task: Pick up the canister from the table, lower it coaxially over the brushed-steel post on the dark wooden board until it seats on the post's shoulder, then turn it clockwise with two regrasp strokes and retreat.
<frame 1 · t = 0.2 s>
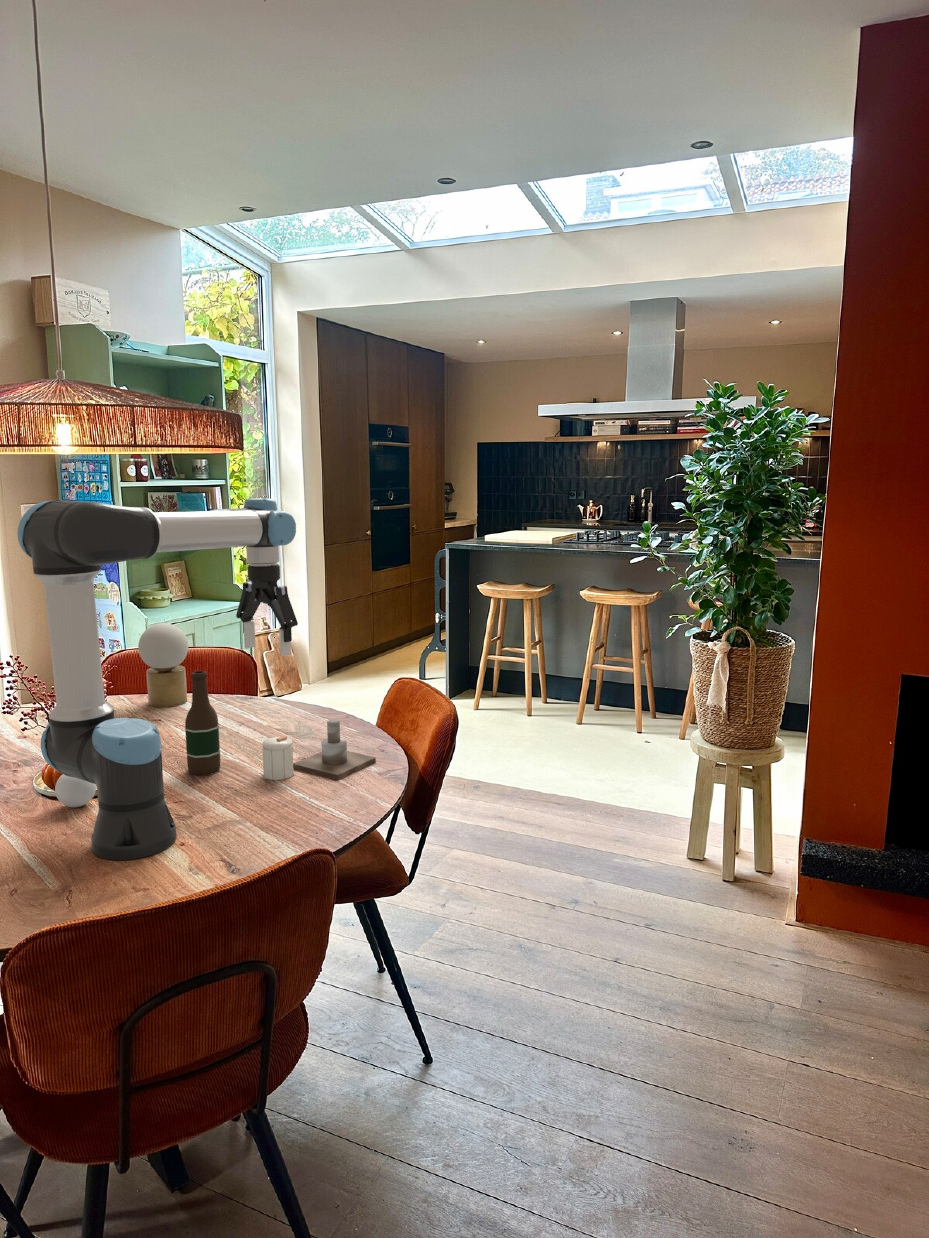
hand: (267, 651, 204), 27 cm above the table, fingers open, 13 cm apart
beer bottle: (204, 771, 200), on the table
post block: (334, 765, 203), on the table
canister: (278, 774, 197), on the table
lamp: (167, 704, 256), on the table
ball: (77, 806, 179), on the table
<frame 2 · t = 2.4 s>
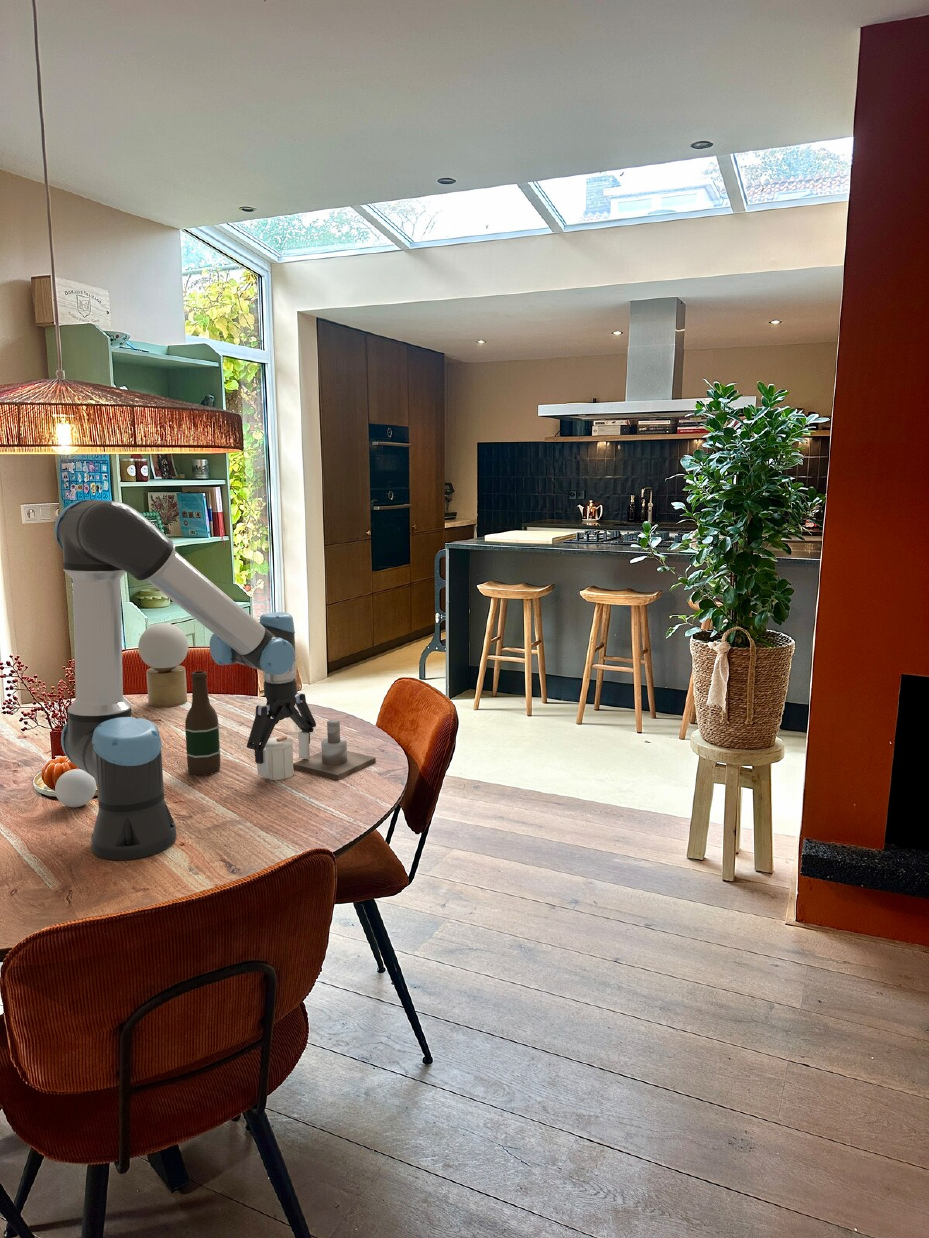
hand: (284, 766, 198), 1 cm above the table, fingers open, 13 cm apart
nothing on the table moved.
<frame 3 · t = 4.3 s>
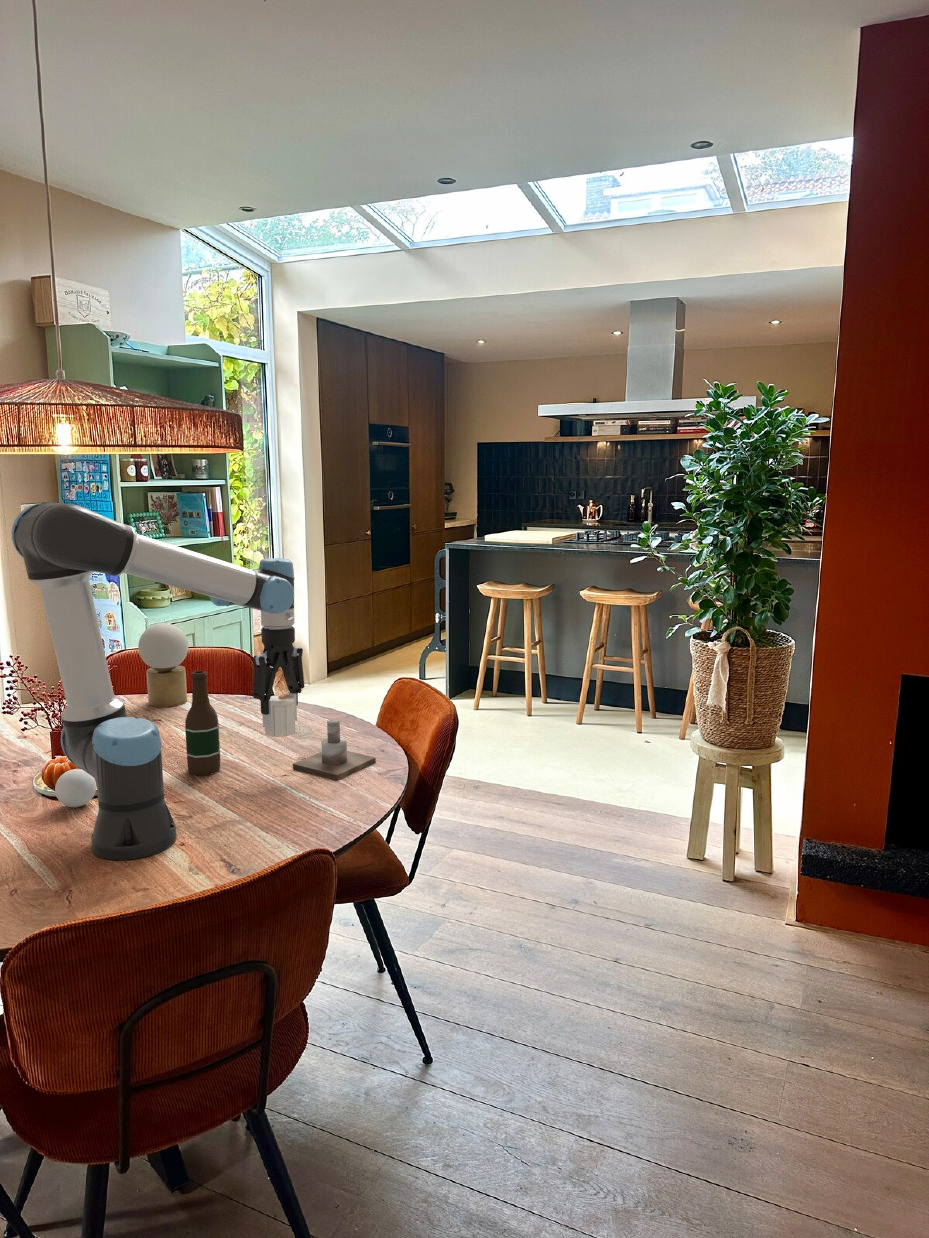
hand: (280, 723, 196), 12 cm above the table, fingers closed on canister, 7 cm apart
canister: (280, 732, 196), point 10 cm above the table, touching gripper
everything else where it was.
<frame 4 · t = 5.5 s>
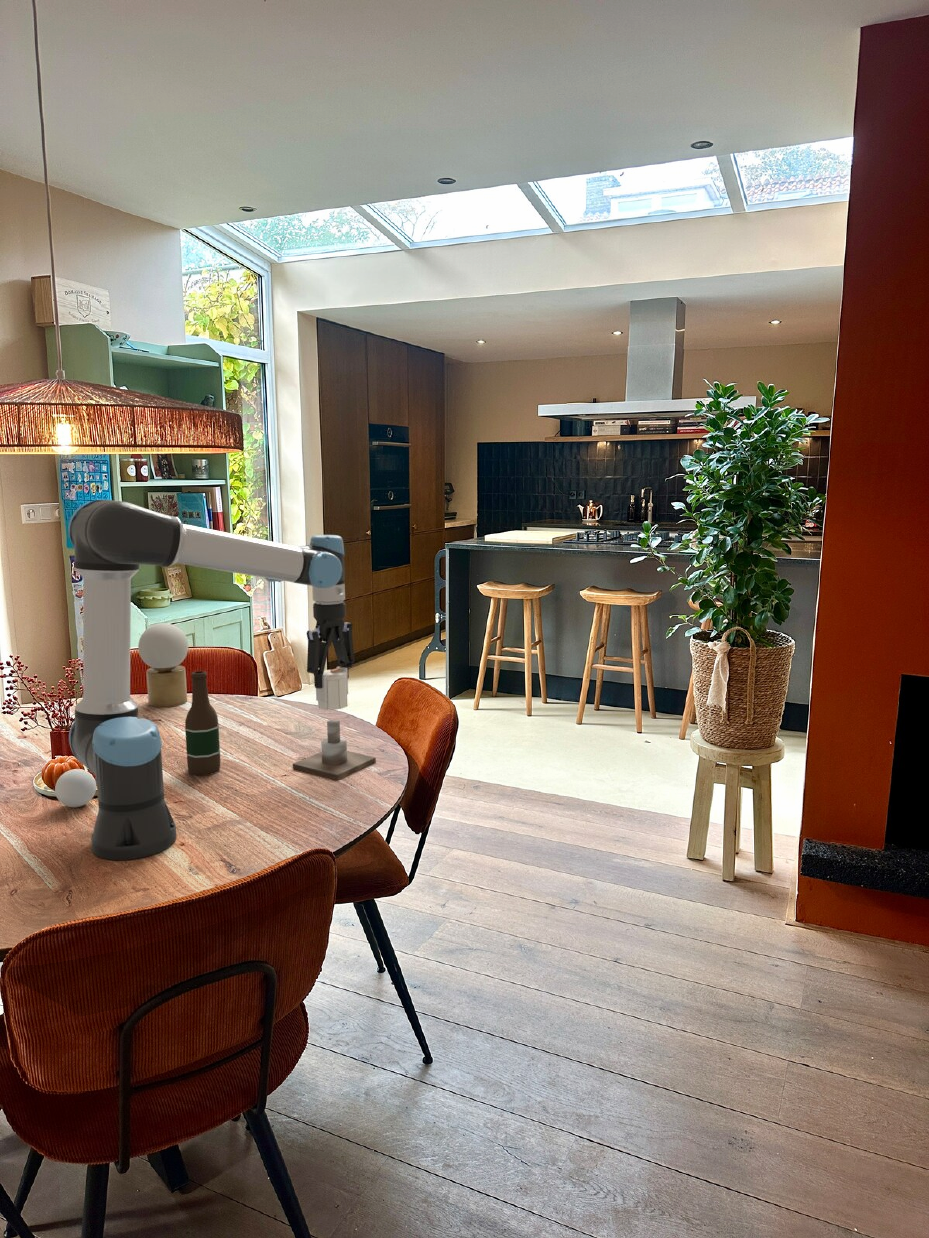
hand: (332, 697, 200), 17 cm above the table, fingers closed on canister, 7 cm apart
canister: (332, 705, 201), point 15 cm above the table, touching gripper
everything else where it was.
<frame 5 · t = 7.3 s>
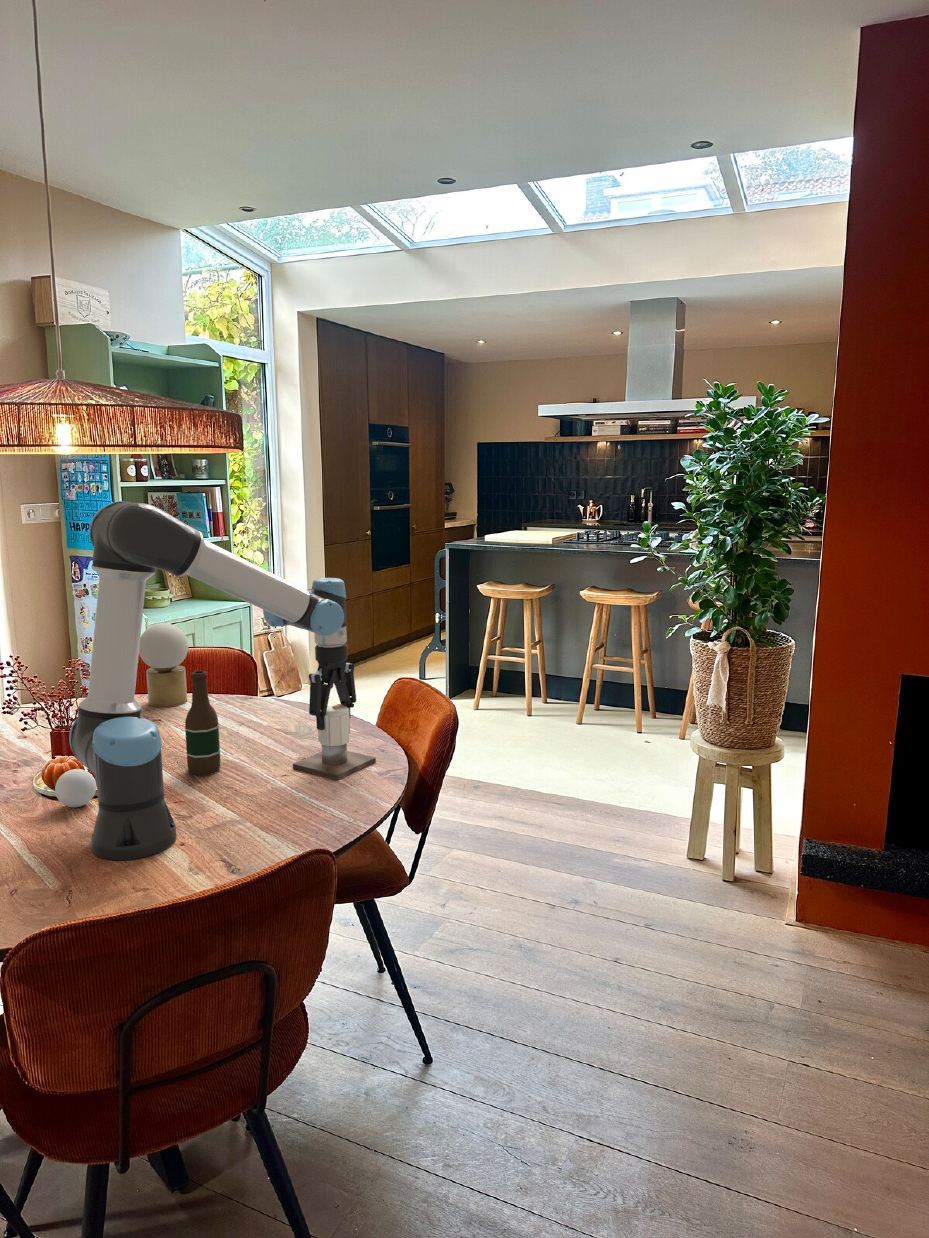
hand: (334, 737, 202), 7 cm above the table, fingers closed on canister, 7 cm apart
canister: (334, 741, 202), point 6 cm above the table, touching gripper, post block
everything else where it was.
when the fingers open (7 cm above the table, at t = 7.7 s): canister stays where it is, resting on post block.
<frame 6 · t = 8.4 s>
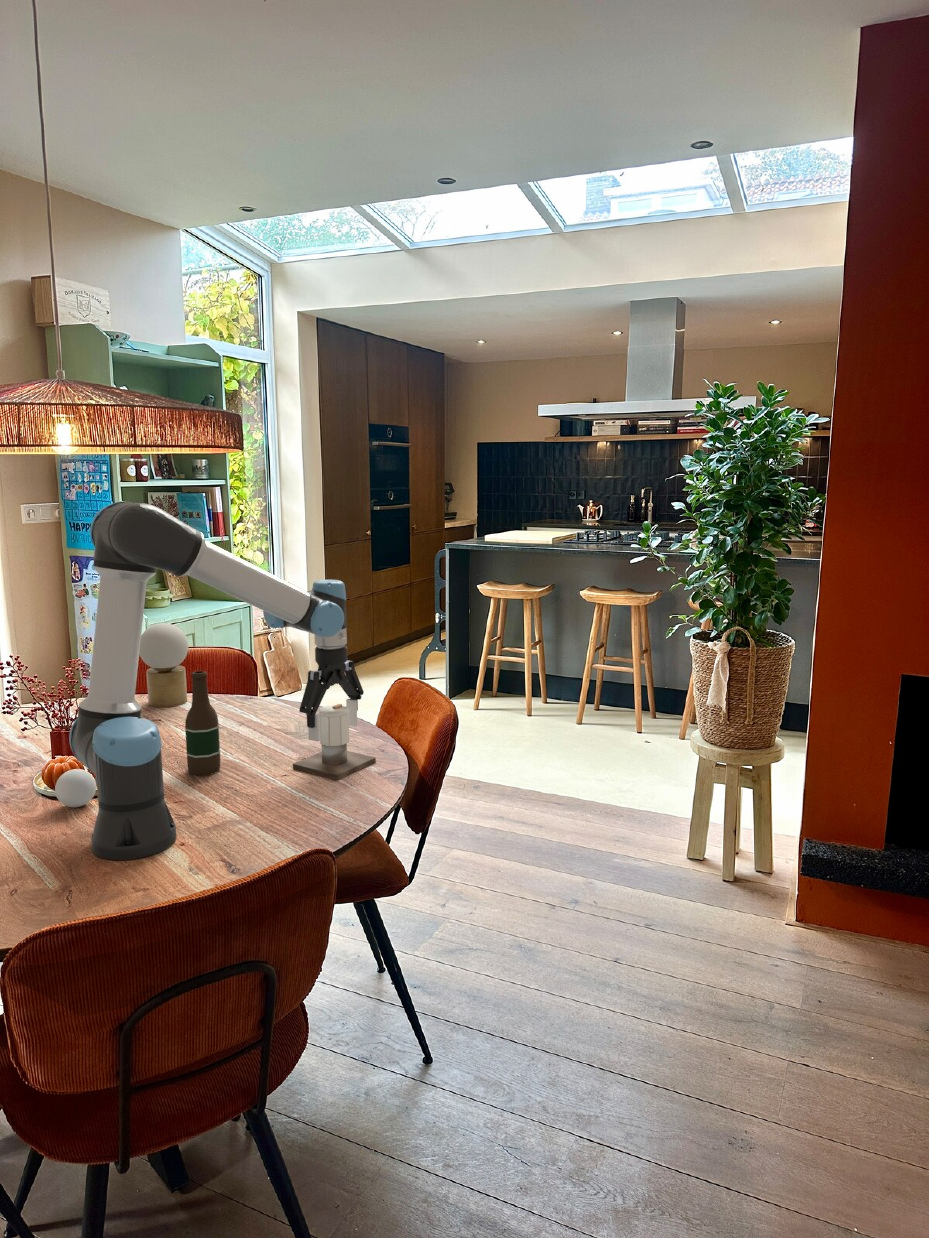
hand: (333, 732, 202), 8 cm above the table, fingers open, 13 cm apart
canister: (334, 741, 202), point 6 cm above the table, touching post block
everything else where it was.
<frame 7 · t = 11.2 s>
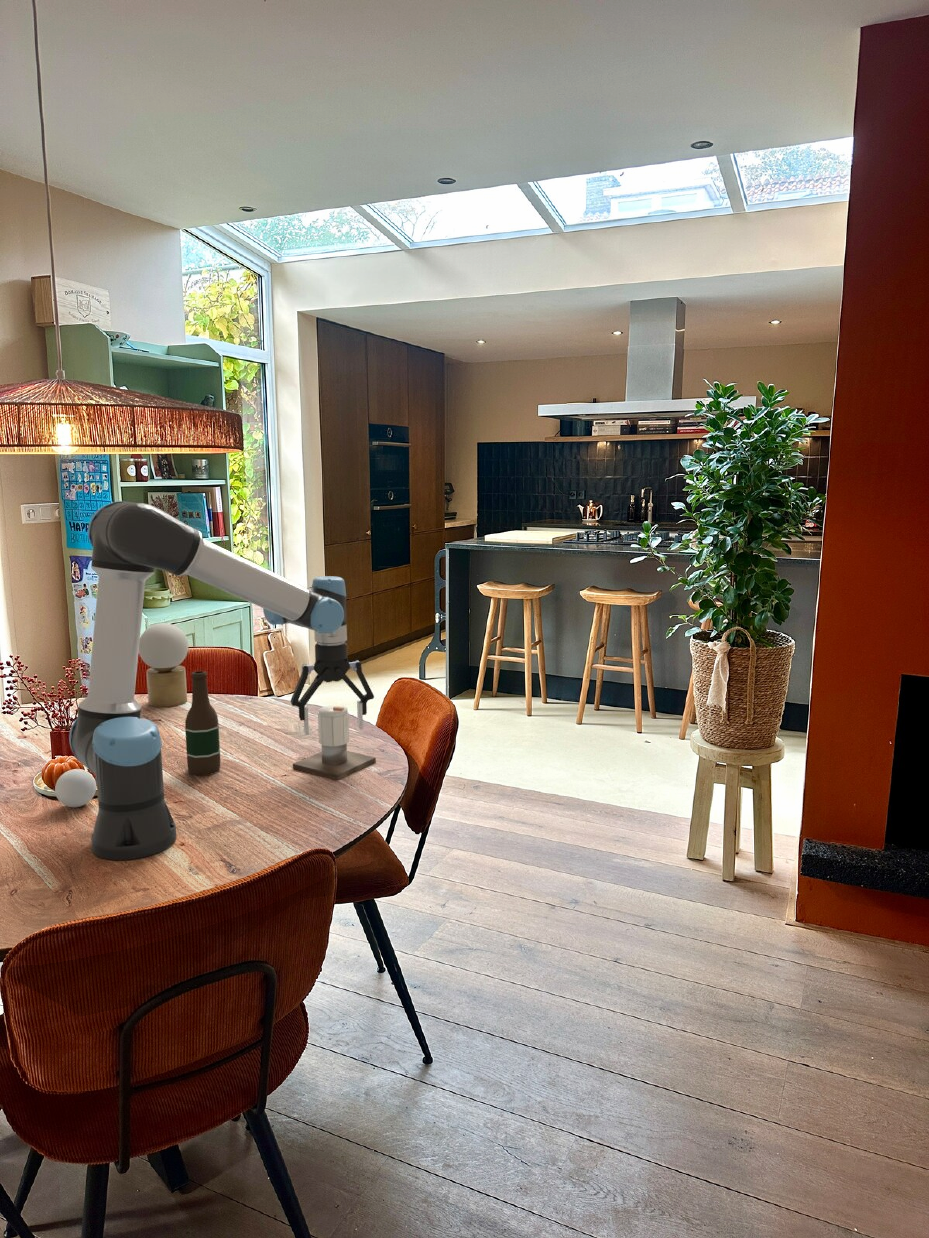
hand: (333, 730, 202), 9 cm above the table, fingers open, 12 cm apart
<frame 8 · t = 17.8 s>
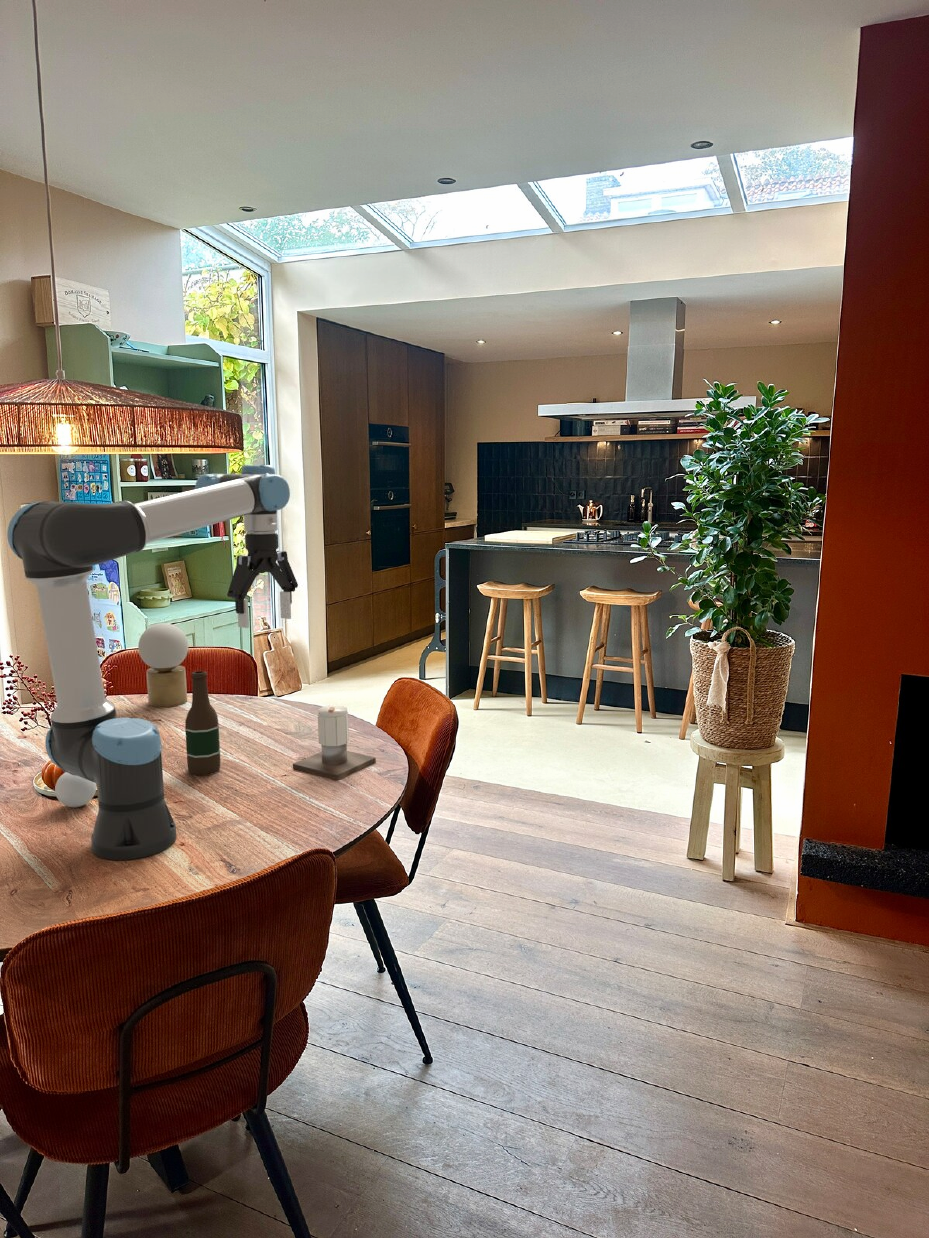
hand: (265, 622, 199), 35 cm above the table, fingers open, 13 cm apart
at the end: canister 0.1 cm off-centre on the post block, point 6.0 cm above the post block's base; canister tilted 0°; the gripper is holding nothing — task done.
